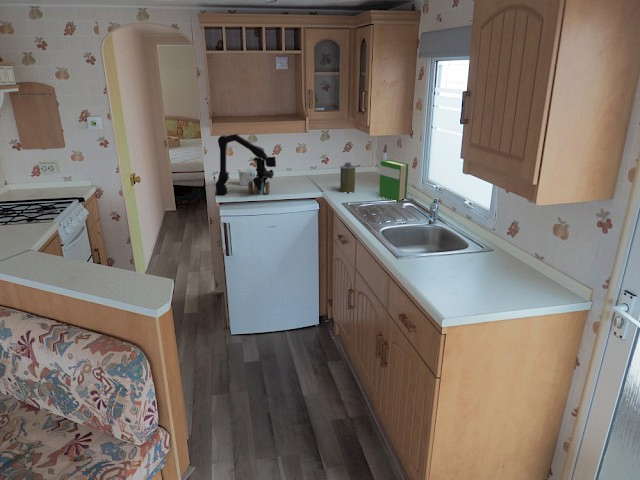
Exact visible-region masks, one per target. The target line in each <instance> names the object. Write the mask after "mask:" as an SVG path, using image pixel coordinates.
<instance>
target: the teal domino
mask: <svg viewBox="0 0 640 480" xmlns="http://www.w3.org/2000/svg"><path fill="white" fill-rule="evenodd" d="M264 193H265V188H264V182H263V183H262V186H261V191H259V194H260V195H259V196H262V195H264Z"/></svg>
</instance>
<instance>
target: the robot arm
mask: <svg viewBox="0 0 640 480" xmlns="http://www.w3.org/2000/svg"><path fill="white" fill-rule="evenodd" d="M232 142H236V143H238V144H239V145H241V146H243V147H245V149H248V150H250V151H251V153H252V154H253V155H254V158H253V160H252V161H255V163H256V166H255V167H256V168H255V172H256V174H255V178H254V179H253V182H254V183H255V184H256V186H257V188H258V190H259V192H260V191H261V186H262V183H263V182H264V189H265V183H266V182H267V180H268V178H269V180H270V179H271V180H272V178H273V177H274V175H275V173H274V170H273V169H270V170H267V168H276V167H277V161H276V156H268V155H267V153H266V152H265V149H264V148H263V147H260V146H258V145H255V144H253V143H251V142H249V141H248V140H247V139H246V138H244V137H242V136H240V135H239V134H237V133H235V134H228V135H225V134H222V135H221V136H219V137H218V139H217V143H218V147H219V174H218V178H217V181H216V182H215V184H214V185H215V196H226V195H227V194H228V187H227V185H226V183H227V182H228V181H229V179H230V172H229V171H227V149H228V144H229V143H232ZM266 167H267V168H266ZM225 194H226V195H225Z"/></svg>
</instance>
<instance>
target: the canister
mask: <svg viewBox="0 0 640 480" xmlns="http://www.w3.org/2000/svg"><path fill="white" fill-rule="evenodd" d="M339 168H340V185H339V187H340V189H339V192H340V191H341V192H340V193H342V192H353V193H355V192H356V190H355V188H356V166H355V165H352V162H351V161H350V162H349V161H348V162H345V163H344V165H340V166H339ZM354 191H355V192H354Z"/></svg>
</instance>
